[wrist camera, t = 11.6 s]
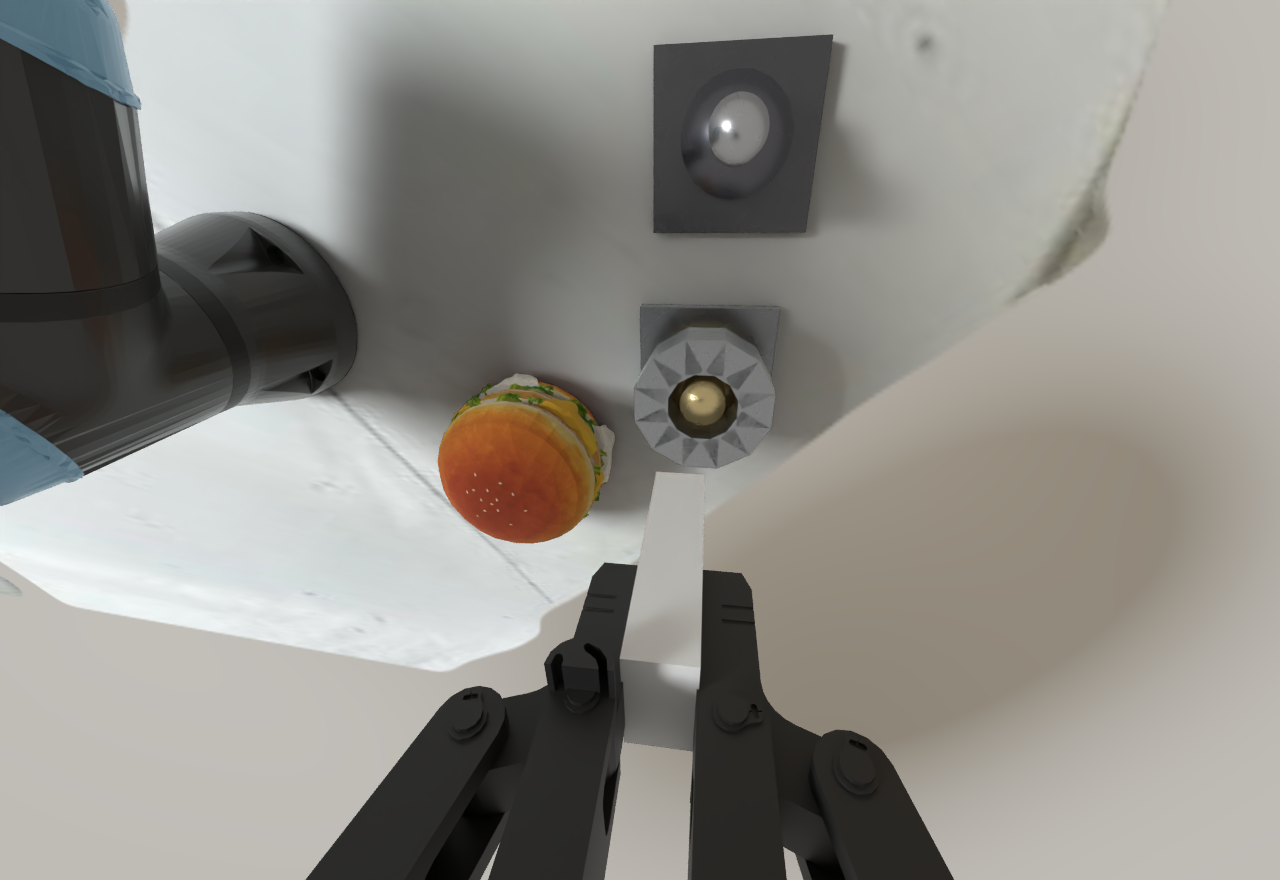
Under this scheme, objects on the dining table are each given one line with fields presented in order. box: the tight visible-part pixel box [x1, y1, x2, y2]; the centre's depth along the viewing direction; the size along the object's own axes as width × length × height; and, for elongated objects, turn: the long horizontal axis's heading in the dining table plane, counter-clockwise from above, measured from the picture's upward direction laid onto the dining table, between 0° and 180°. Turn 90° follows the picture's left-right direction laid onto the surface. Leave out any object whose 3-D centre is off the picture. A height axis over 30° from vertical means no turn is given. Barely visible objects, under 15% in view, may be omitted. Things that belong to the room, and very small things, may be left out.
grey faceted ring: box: [634, 327, 776, 468], centre depth 31 cm, size 9×9×3 cm
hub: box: [640, 304, 780, 425], centre depth 34 cm, size 10×10×7 cm
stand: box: [654, 35, 833, 233], centre depth 26 cm, size 10×10×9 cm
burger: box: [438, 373, 615, 543], centre depth 38 cm, size 13×14×10 cm
